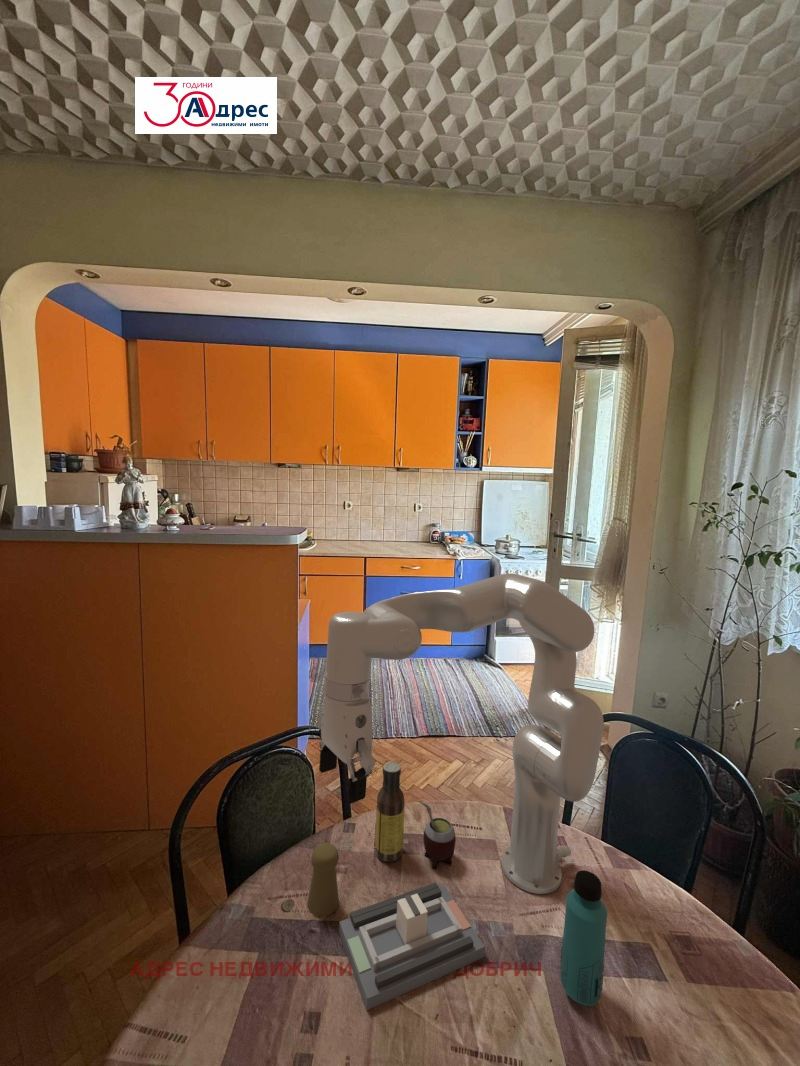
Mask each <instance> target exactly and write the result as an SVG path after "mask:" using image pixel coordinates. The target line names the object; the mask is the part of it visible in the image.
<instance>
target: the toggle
mask: <svg viewBox="0 0 800 1066" xmlns="http://www.w3.org/2000/svg"><path fill="white" fill-rule="evenodd" d="M427 914H428V911H427V910H426V908H425V906H424V904H423V903H422V901H421V899H420V897H419V896H418V894H414V895H410V894H409V895H406V896H405V898H403V899H400V900H397V916H396V928H397V930H398V932H399V934H400V936H401V938H402V940H403V942H404V944H405V945H406V944H409V943H411V942H414V941H416V940H419V939H421V938H424V937H426V929H427Z"/></svg>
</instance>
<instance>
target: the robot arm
mask: <svg viewBox="0 0 800 1066" xmlns="http://www.w3.org/2000/svg"><path fill="white" fill-rule="evenodd" d="M507 619H513V620H516V621H518V622H519V625H520V627H521V628H522V629H523V631H524V632H525V633H526V634H527V636H528V637H529V638H530V640H531V643H532V646H533V648H534V664H533V669H532V676H531V681H530V688H529V693H528V700H527V708H528V712H529V714H530V716H531V717H533V719H534V720H536V721H537V722H538V723H539V724H541V725H542V726H541V725H538V724H527V725H525V726H522V727H521V728H520V729H519V730H518V731H517V732H516V734H515V736H514V738H513V741H512V761H513V766H514V767H513V768H514V787H513V788H514V791H513V803H512V815H511V827H510V829H511V830H510V842H509V847H507V848H506V849H505V850H504V851H503V853H502V855H501V867H502V871H503V873H504V875H505V876H506V878H507V879H509V881H510V882H511V883H512V884H514V885H515V886H517V888H519V889H521V890H523V891H526V892H528V893H532V894H536V895H546V894H550V893H553V892H554V891H556V890H558V888H559V887H560V886H561V884H562V868H561V867H560V864H559V862H560V861H561V860H562V858H566V857H569V856H571V855H572V849H571V848H570V847H569V846H568V845H563V846H561V847H559V844H558V831H559V830H558V829H559V820H560V819H559V818H560V809H561V799H563V800H565V801H568V802H572V803H573V802H575V803H576V802H580V801H582V800H583V799H585V798H586V797H587V796H588V794H589V793H590V792H591V790H592V787H593V784H594V781H595V777H596V773H597V767H598V762H599V757H600V752H601V745H602V739H603V735H604V715H603V711H602V710H601V707H600V706H599V704H598V703H597V702H596V701H595V700H594V699H592V698H591V697H589V696H587V695H585V694H584V693H581V692H580V691H578V690H576V687H575V681H576V675H577V674H576V673H577V664H578V660H577V659H578V658H577V653H579V652H582V651H584V650H586V649H587V648H588V647H589V646H590V645H591V644H592V642H593V639H594V637H595V625H594V621H593V619H592V617H591V615H590V614H589V613H588V612H587V611H586V610H585V609H584V608H582V607H581V605H578V604H577V603H575V602H574V601H572V599H570V598H569V597H567V596H566V595H565V594H563V593H562V592H561V591H560V590H557V589H556V588H555V587H553V586H551V585H550V584H549V583H547V582H544V581H542V580H540V579H537V578H533V577H528V576H524V575H521V574H518V573H517V574H516V573H507V572H506V573H502V574H498V575H495V576H491V577H488V578H484V579H482V580H478V581H474V582H471V583H469V584H465V585H461V586H458V587H457V586H456V587H455V588H448V589H447V588H446V589H436V590H429V591H419V592H411V593H405V594H401V595H396V596H393V597H390V598H386V599H383V600H379V601H377V602H375V603H373V604H371V605H369V606H368V607H366V608H365V609H364V611H363V612H357V611H342V612H338V613H335V614H333V615H332V616H331V617H330V618H329V621H328V629H327V645H326V646H327V647H326V662H325V677H324V678H325V680H324V696H323V697H324V699H323V704H322V705H323V706H322V713H321V716H319V717H318V718H317V723H318V729H319V730H318V735H319V739H320V741H319V743H318V744H319V745H318V746H319V749H320V751H319V766H318V768H319V769H318V771H319V772H320V774H324V773H326V772H329V771H332V770H335V769H337V766H338V765H337V763H338V759H339V760H341V762H342V763H344V764H345V765H347V767H348V771H349V775H350V778H347V779H348V780H347V781H348V782H347V797H346V801H347V803H348V804H349V805H351V804H354V803H356V802H359V801H361V800H363V799H365V798H366V792H367V789H366V788H367V781H368V780H367V779H368V777H370V775H371V774H372V773H373V769H374V767H375V765H376V760H375V757H374V755H373V754H372V752H373V714H372V713H373V712H372V704H371V700H370V686H371V683H370V682H371V672H372V659H380V660H389V661H401V660H406V659H409V658H411V657H413V656H414V654H416V653H417V652H418V650H420V647H421V644H422V639H423V634H422V631H421V630H437V631H442V632H448V633H449V632H450V633H465V634H466V633H470V632H473V631H476V630H479V629H481V628H484V627H486V626H489V625H493V624H495V623H498V622H501V621H504V620H507ZM543 726H544V727H543ZM355 755H358V757H355ZM356 763H359V766H360V768H358V770H356V767H355V764H356ZM558 847H559V848H558Z"/></svg>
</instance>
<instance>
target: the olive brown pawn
mask: <svg viewBox="0 0 800 1066" xmlns="http://www.w3.org/2000/svg"><path fill="white" fill-rule="evenodd" d="M339 856H340V855H339V850H338V849H337V847H336V846H335V845H334V844H333V843H330V842H323V843H319V844H318V845H317V846H316V847H315V848H314V849H313V851H312V854H311V857H310V858H311V865H312V868H313V870H312V876H311V882H310V886H309V893H308V897H307V903H306V905H307V909H308V911H309V912H310V914H312V915H313V916H316V917H327V916H329V915H331V914H332V913H334V912H335V911H336V910H337V908H338V906H339V900H340V899H339V891H338V890H339V889H338V879H337V869H336V868H337V866H338V862H339V859H340V857H339Z"/></svg>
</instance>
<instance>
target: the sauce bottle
mask: <svg viewBox="0 0 800 1066" xmlns="http://www.w3.org/2000/svg"><path fill="white" fill-rule="evenodd" d="M401 770H402V767H401V765H400V763H397V762H391V761H390V762H386V763H385V764H384V765H383V766H382V775H383V776H382V777H383V778H382V787H381V789H380V790H379V792H378V793H377V796H376V797H377V798H376V815H375V818H376V819H375V854H376V856H377V857H378V859H379V860H380V861H382V862H389V863H391V862H394V861H397V860H398V859H400V858H401V856H402V854H403V847H404V831H405V827H404V826H405V796H404V792H403V791H402V789H401V787H400V785H401V783H400V781H401V778H400V777H401V772H402V771H401Z"/></svg>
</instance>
